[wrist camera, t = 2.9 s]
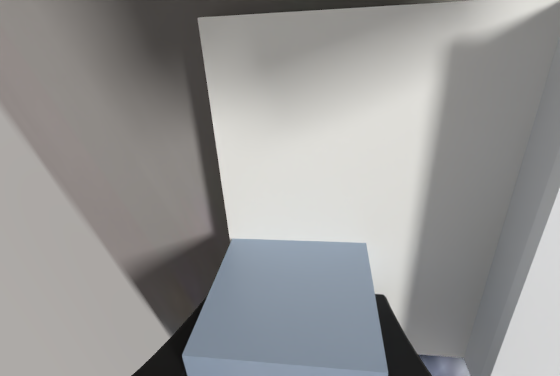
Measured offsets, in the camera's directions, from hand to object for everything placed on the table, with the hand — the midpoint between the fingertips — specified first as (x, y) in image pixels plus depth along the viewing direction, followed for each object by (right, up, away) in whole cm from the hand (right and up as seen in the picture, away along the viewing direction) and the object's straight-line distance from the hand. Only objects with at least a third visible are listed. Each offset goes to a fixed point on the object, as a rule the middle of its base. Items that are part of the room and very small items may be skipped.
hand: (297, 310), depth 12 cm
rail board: (+3, +4, 0) cm, 5 cm away
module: (0, 0, +1) cm, 1 cm away
